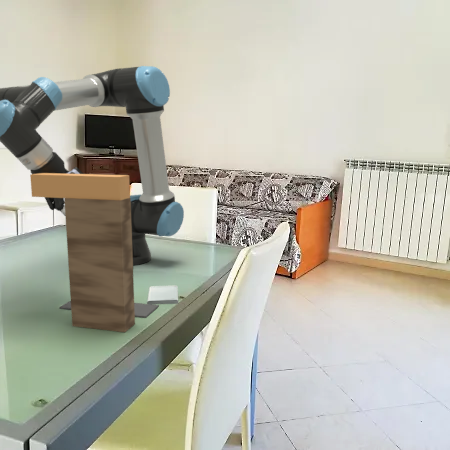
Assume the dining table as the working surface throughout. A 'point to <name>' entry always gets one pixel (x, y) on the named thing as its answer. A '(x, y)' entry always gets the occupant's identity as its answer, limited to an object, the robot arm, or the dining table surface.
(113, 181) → the orange rod
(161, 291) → the hard drive
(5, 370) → the dining table surface
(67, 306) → the charcoal mat
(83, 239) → the walnut pedestal
